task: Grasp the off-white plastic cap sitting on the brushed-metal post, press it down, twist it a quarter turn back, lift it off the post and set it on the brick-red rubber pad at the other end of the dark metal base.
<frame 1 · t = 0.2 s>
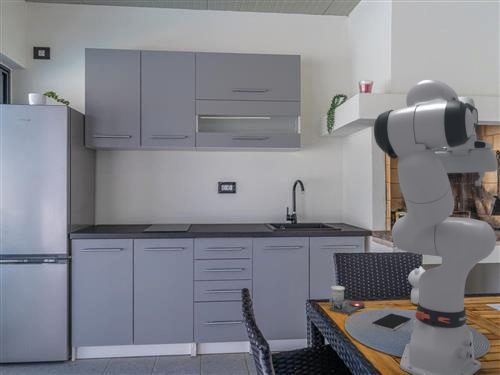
hand: (462, 186, 124), 48 cm above the table, fingers open, 8 cm apart
bayonet base: (347, 308, 143), on the table
cap: (338, 299, 142), point 4 cm above the table, touching bayonet base
smartphone: (392, 324, 127), on the table
cat figurine: (424, 305, 146), on the table
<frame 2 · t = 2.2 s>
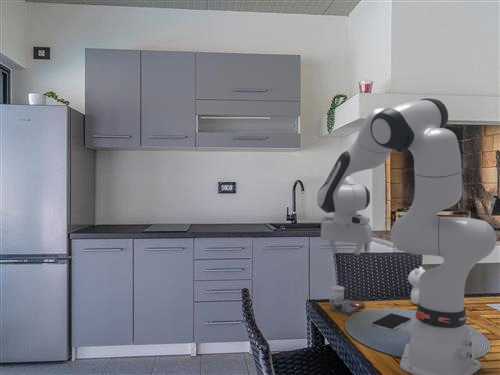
hand: (345, 253, 141), 22 cm above the table, fingers open, 8 cm apart
nothing on the table moved.
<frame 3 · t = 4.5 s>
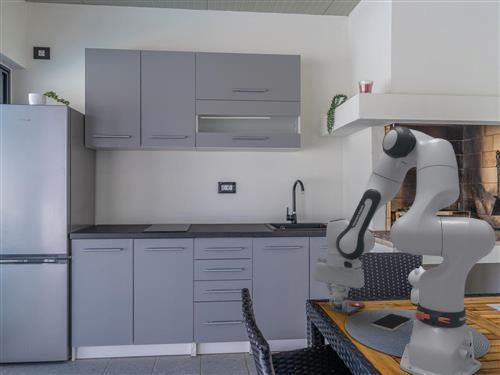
hand: (338, 295, 142), 5 cm above the table, fingers closed on cap, 4 cm apart
cap: (338, 299, 142), point 4 cm above the table, touching bayonet base, gripper
everything else where it was.
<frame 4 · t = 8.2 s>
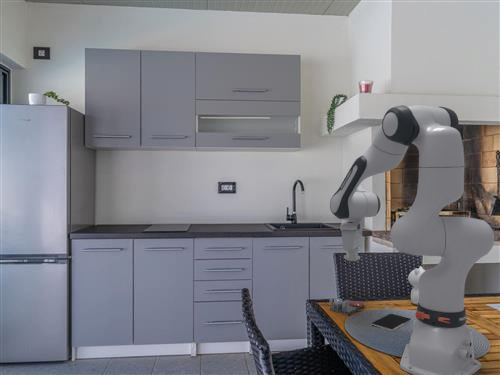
hand: (353, 258, 145), 19 cm above the table, fingers closed on cap, 4 cm apart
cap: (351, 259, 145), point 19 cm above the table, touching gripper
everything else where it was.
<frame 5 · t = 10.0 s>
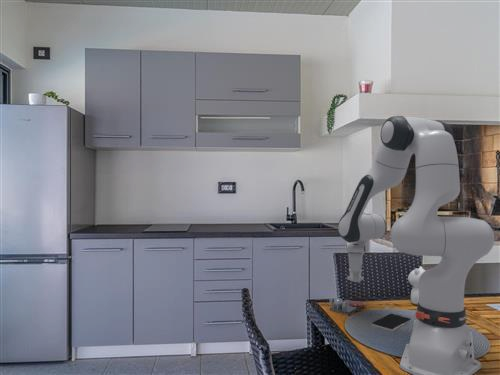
hand: (356, 279, 145), 11 cm above the table, fingers closed on cap, 4 cm apart
cap: (355, 280, 145), point 10 cm above the table, touching gripper
everything else where it was.
when the fingers open (3 cm above the table, at t = 11.7 s): cap drops 2 cm, resting on bayonet base.
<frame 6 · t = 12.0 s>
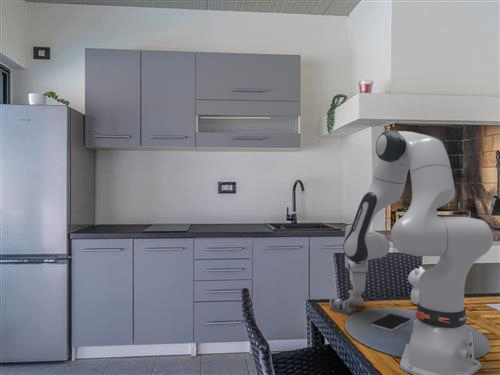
hand: (356, 297, 145), 3 cm above the table, fingers open, 7 cm apart
cap: (355, 302, 145), point 1 cm above the table, touching bayonet base
everything else where it was.
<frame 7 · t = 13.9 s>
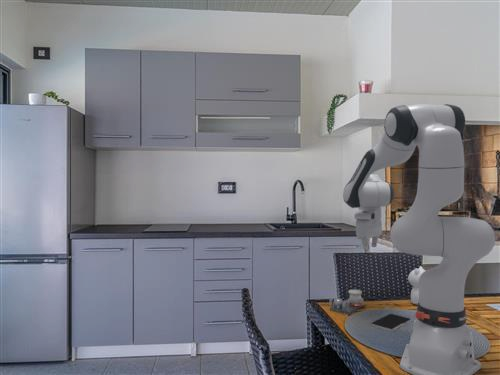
hand: (370, 248, 147), 23 cm above the table, fingers open, 8 cm apart
nothing on the table moved.
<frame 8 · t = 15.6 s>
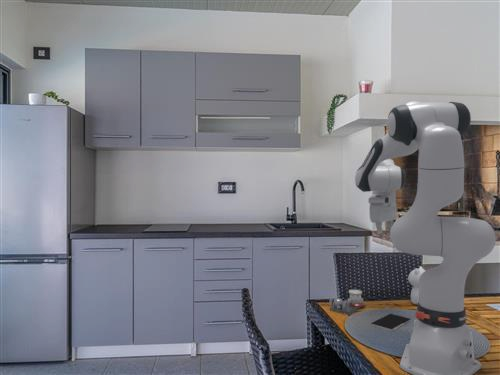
hand: (384, 232, 149), 29 cm above the table, fingers open, 8 cm apart
nothing on the table moved.
at the end: cap 0.5 cm from the target spot, point 1.4 cm above the table; cap tilted 1°; the gripper is holding nothing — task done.
